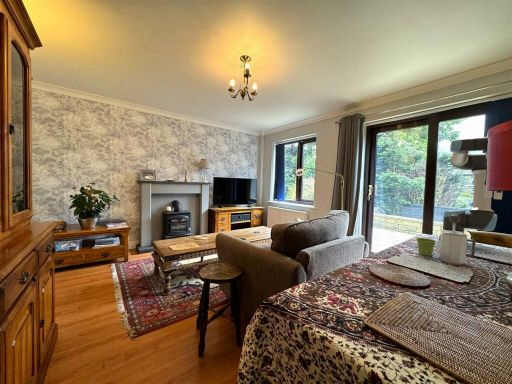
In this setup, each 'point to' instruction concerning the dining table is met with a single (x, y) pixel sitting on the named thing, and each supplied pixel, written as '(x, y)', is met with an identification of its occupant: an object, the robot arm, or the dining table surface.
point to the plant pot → (425, 246)
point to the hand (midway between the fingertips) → (492, 198)
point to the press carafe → (455, 247)
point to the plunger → (454, 221)
